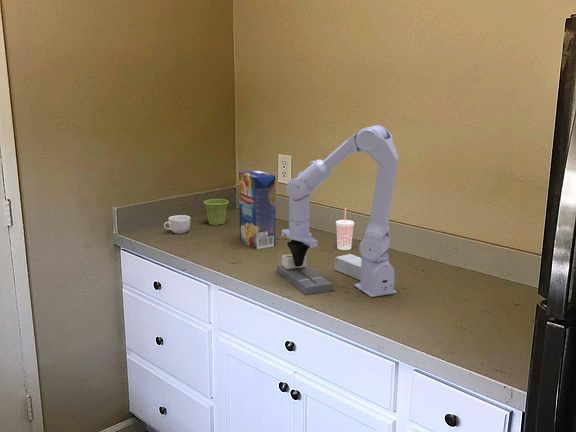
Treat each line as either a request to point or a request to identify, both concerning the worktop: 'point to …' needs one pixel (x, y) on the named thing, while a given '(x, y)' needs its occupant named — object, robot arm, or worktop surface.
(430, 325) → the worktop surface
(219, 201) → the plant pot
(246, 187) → the juice carton
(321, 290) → the mixing panel
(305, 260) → the fader
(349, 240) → the beverage cup
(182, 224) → the teacup
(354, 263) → the skincare box
